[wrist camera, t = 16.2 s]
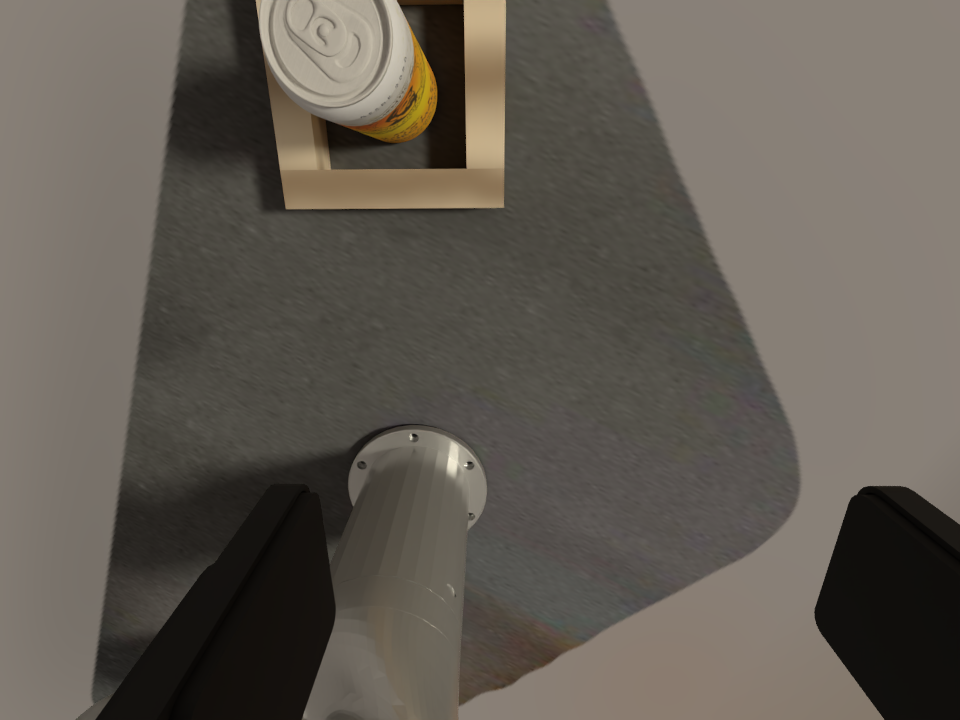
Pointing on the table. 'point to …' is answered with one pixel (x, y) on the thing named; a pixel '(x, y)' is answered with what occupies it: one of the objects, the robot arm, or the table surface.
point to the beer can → (351, 64)
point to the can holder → (406, 188)
